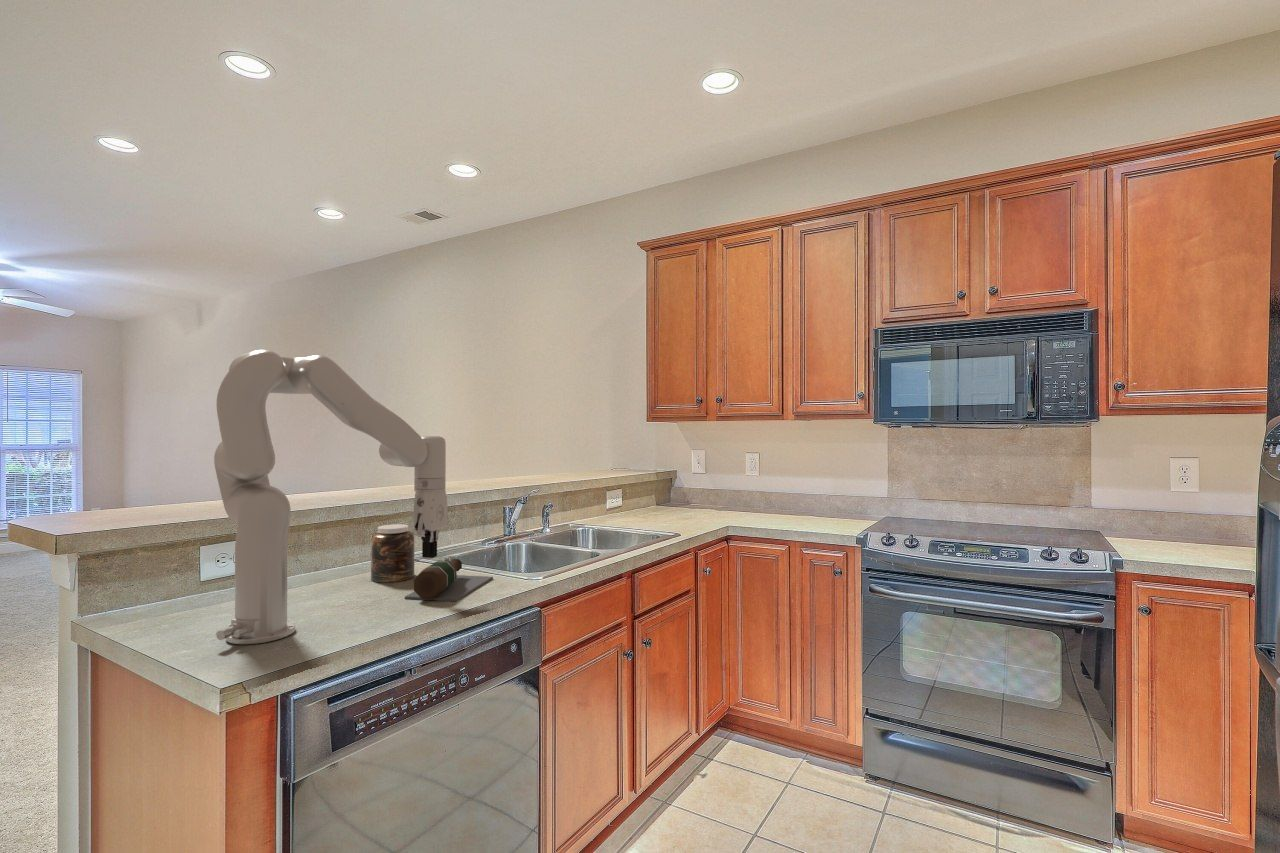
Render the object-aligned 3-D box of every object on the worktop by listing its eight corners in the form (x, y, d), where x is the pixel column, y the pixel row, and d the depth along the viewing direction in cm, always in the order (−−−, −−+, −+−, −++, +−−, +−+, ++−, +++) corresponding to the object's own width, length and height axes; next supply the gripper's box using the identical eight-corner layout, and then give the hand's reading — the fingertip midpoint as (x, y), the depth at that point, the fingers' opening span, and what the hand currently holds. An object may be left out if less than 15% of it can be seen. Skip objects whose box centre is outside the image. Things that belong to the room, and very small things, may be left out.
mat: (456, 601, 159) (456, 599, 159) (404, 598, 161) (404, 596, 161) (492, 578, 183) (492, 576, 183) (447, 576, 185) (447, 574, 185)
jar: (376, 573, 188) (376, 523, 188) (417, 572, 190) (417, 522, 190) (366, 583, 177) (366, 530, 176) (410, 582, 179) (410, 529, 179)
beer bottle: (447, 593, 158) (474, 571, 182) (435, 565, 158) (464, 546, 182) (418, 605, 159) (449, 581, 183) (407, 576, 159) (439, 556, 183)
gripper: (429, 487, 152) (429, 564, 152) (456, 482, 167) (456, 551, 167) (400, 487, 153) (400, 562, 153) (430, 482, 168) (430, 550, 168)
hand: (429, 556), depth 160 cm, fingers closed
